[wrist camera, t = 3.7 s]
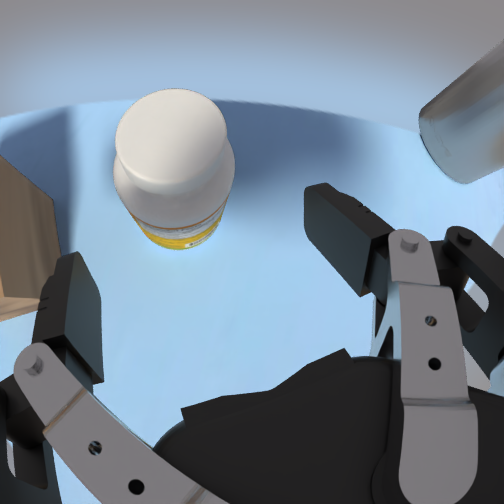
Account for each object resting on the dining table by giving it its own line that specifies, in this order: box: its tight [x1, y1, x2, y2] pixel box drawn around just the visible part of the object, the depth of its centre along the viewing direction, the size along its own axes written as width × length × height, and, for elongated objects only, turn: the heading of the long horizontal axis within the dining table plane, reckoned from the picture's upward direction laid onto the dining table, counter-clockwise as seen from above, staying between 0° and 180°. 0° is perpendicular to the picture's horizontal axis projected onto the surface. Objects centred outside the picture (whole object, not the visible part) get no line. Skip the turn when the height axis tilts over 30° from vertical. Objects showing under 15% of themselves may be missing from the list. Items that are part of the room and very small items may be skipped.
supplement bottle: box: [113, 88, 235, 250], centre depth 14 cm, size 5×5×10 cm
